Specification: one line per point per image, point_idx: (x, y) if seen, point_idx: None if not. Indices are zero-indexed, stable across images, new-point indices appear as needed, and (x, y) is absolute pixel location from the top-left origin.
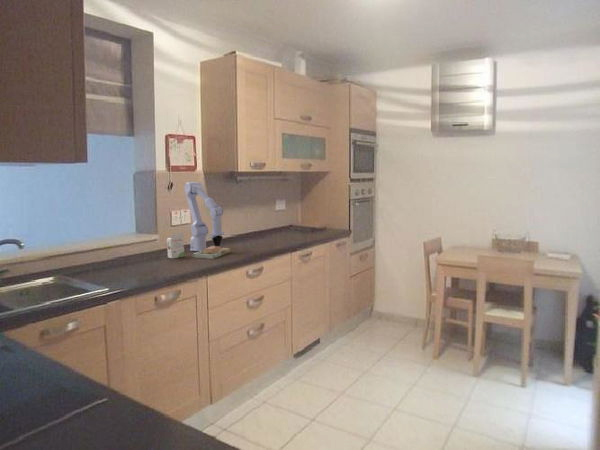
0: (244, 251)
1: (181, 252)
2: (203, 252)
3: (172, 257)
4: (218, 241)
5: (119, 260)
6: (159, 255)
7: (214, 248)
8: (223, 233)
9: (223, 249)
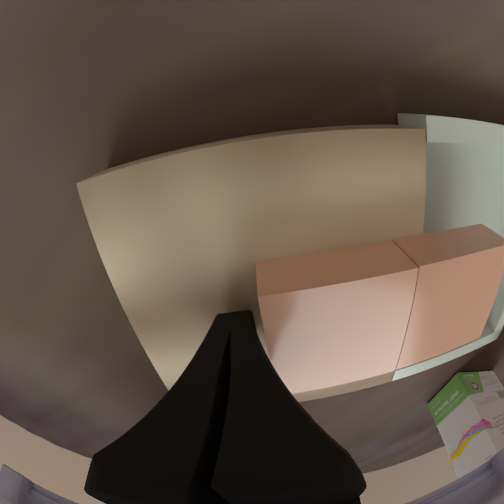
0: (8, 70)
1: (479, 391)
2: None
3: (494, 373)
4: (296, 400)
5: None
6: (421, 439)
7: (462, 252)
8: (8, 494)
9: (229, 207)
